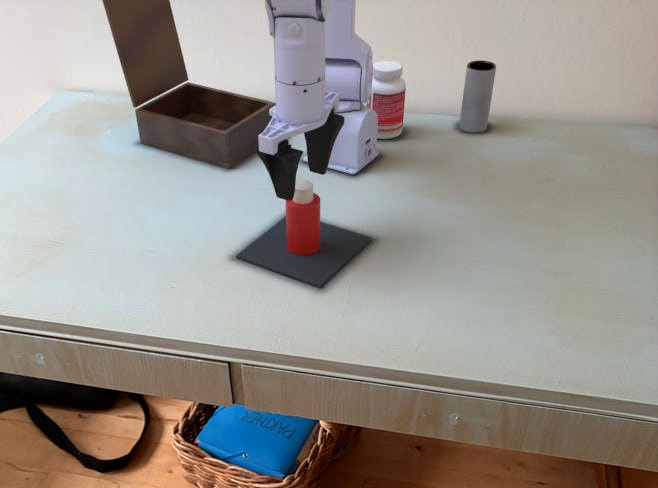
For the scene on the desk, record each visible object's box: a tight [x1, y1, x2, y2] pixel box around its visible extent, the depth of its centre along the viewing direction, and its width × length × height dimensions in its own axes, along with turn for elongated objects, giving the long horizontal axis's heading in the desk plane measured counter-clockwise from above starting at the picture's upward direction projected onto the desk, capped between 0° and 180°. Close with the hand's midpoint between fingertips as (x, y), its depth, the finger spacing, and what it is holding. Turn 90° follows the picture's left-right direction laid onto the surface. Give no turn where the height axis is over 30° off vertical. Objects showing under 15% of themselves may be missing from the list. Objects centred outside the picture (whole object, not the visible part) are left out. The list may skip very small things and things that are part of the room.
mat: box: [235, 215, 372, 289], centre depth 99 cm, size 13×13×1 cm
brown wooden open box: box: [134, 81, 276, 170], centre depth 124 cm, size 19×14×6 cm
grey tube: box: [459, 59, 497, 134], centre depth 122 cm, size 4×4×10 cm
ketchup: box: [285, 179, 321, 255], centre depth 96 cm, size 4×4×9 cm
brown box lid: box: [101, 0, 189, 109], centre depth 121 cm, size 19×14×4 cm
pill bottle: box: [365, 60, 407, 140], centre depth 122 cm, size 6×6×11 cm
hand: (301, 184), depth 94 cm, fingers open, 7 cm apart
